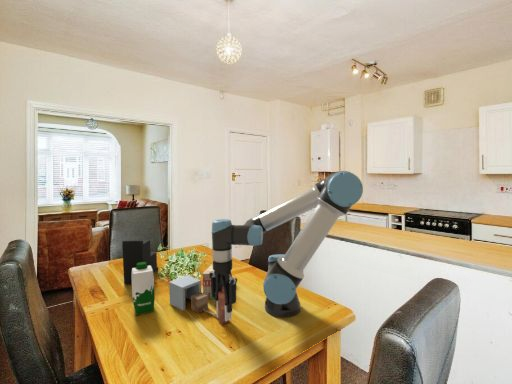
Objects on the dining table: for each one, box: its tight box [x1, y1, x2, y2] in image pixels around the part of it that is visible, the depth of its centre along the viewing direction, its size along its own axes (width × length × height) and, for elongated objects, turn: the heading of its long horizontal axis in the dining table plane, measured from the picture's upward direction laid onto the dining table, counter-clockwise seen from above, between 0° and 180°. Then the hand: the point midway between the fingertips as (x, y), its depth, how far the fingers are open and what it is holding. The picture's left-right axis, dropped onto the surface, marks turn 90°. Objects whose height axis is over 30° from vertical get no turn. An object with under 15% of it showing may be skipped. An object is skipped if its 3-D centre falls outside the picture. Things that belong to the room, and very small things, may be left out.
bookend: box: [121, 239, 159, 285], centre depth 158 cm, size 23×11×24 cm, turn 1°
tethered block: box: [190, 289, 230, 325], centre depth 114 cm, size 20×5×12 cm, turn 49°
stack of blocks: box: [202, 264, 224, 300], centre depth 139 cm, size 21×6×12 cm, turn 170°
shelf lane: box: [168, 275, 202, 312], centre depth 124 cm, size 10×10×10 cm
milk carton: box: [131, 262, 156, 316], centre depth 118 cm, size 9×9×20 cm
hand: (224, 317), depth 109 cm, fingers closed on tethered block, 4 cm apart
